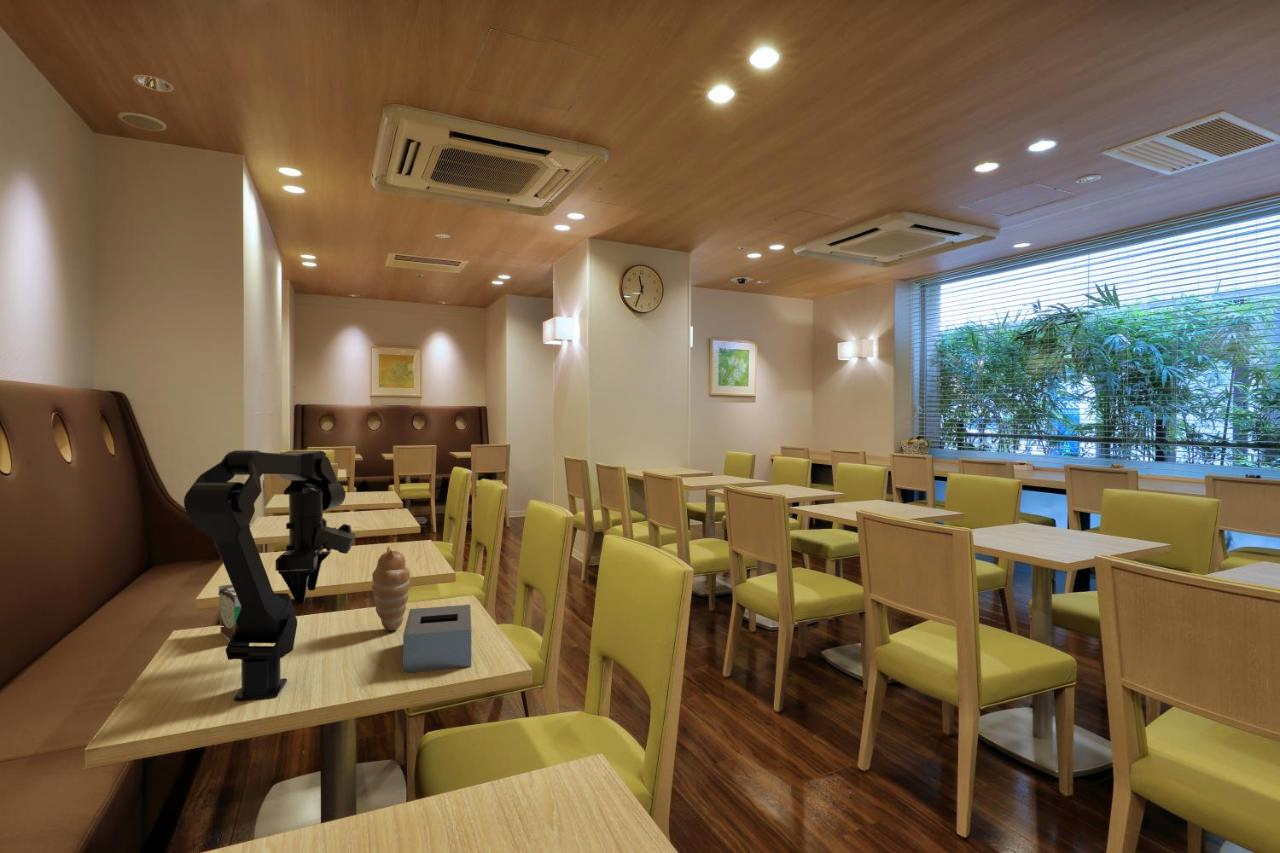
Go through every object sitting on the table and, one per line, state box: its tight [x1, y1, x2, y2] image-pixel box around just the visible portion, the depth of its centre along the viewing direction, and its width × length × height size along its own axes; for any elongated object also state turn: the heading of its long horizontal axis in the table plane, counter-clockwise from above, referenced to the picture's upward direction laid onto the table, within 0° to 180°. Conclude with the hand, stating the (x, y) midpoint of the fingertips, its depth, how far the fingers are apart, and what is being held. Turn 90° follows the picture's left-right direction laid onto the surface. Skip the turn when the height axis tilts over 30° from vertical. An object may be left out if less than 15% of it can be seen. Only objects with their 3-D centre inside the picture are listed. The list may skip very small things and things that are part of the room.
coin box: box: [402, 604, 472, 674], centre depth 126 cm, size 16×12×7 cm
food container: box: [218, 584, 241, 641], centre depth 136 cm, size 12×6×10 cm, turn 47°
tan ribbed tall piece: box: [371, 545, 411, 632], centre depth 139 cm, size 9×8×18 cm
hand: (306, 596), depth 123 cm, fingers open, 9 cm apart
